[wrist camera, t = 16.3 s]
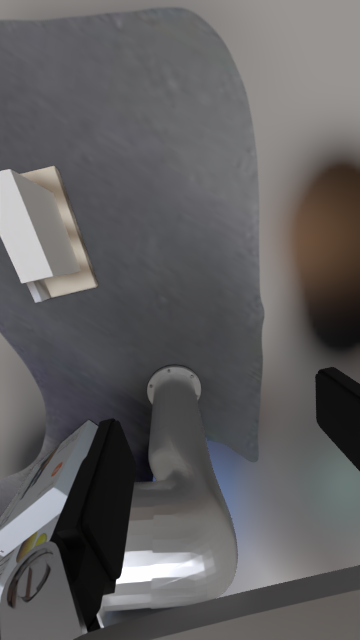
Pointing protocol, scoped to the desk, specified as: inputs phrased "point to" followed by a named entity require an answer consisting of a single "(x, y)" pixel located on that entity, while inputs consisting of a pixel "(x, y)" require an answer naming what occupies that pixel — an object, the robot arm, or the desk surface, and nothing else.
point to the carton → (33, 230)
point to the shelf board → (86, 276)
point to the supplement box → (24, 550)
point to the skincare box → (45, 489)
